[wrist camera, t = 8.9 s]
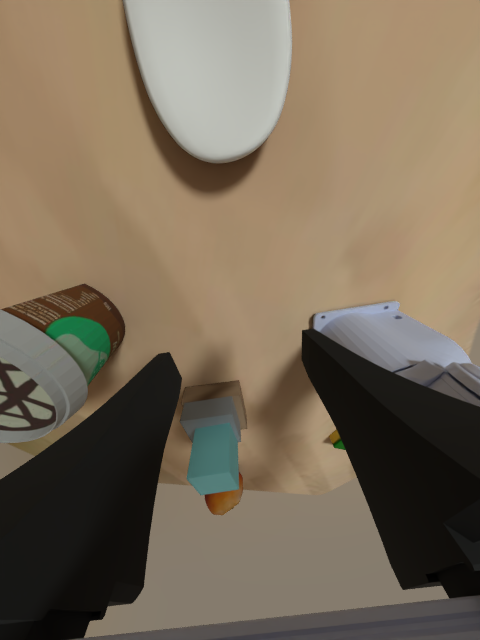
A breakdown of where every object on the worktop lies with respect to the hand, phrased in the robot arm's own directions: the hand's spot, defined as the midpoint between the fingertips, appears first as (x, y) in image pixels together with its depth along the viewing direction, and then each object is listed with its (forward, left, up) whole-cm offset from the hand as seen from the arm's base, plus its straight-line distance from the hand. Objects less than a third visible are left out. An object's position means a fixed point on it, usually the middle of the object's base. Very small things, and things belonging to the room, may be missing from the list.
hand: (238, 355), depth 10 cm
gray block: (+6, +17, -8) cm, 20 cm away
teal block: (+6, +18, -5) cm, 19 cm away
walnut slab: (+6, +18, -11) cm, 21 cm away
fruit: (+10, +41, -11) cm, 44 cm away
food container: (+16, +2, -11) cm, 19 cm away
